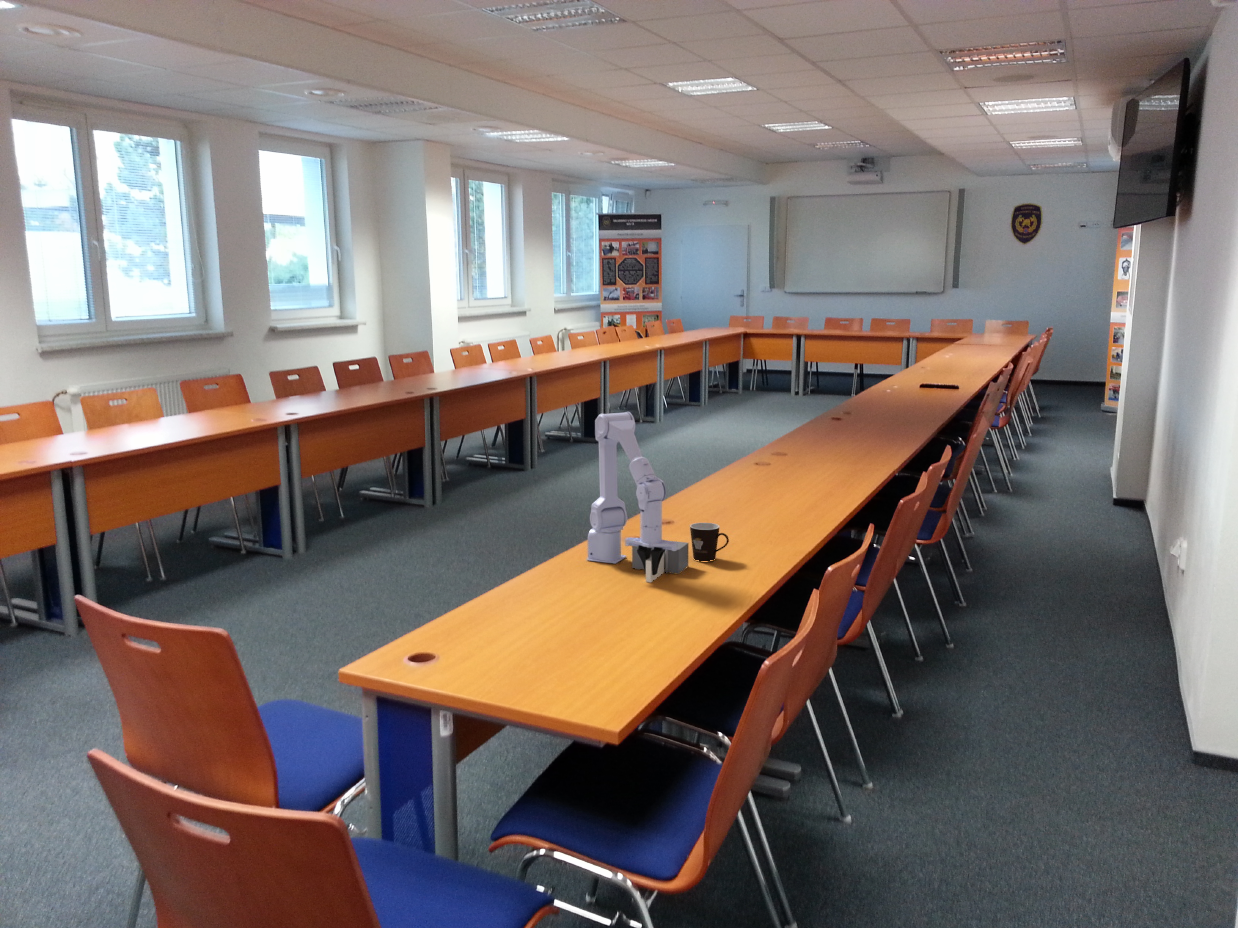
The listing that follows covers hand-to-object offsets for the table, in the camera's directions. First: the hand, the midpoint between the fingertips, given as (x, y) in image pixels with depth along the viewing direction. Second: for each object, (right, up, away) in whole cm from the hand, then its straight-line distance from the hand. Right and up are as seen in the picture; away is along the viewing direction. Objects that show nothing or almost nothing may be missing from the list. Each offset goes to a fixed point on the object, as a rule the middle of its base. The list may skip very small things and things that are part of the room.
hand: (651, 573), depth 252 cm
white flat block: (+1, -1, +3) cm, 3 cm away
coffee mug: (+17, +1, +19) cm, 26 cm away
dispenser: (+3, 0, +12) cm, 12 cm away
